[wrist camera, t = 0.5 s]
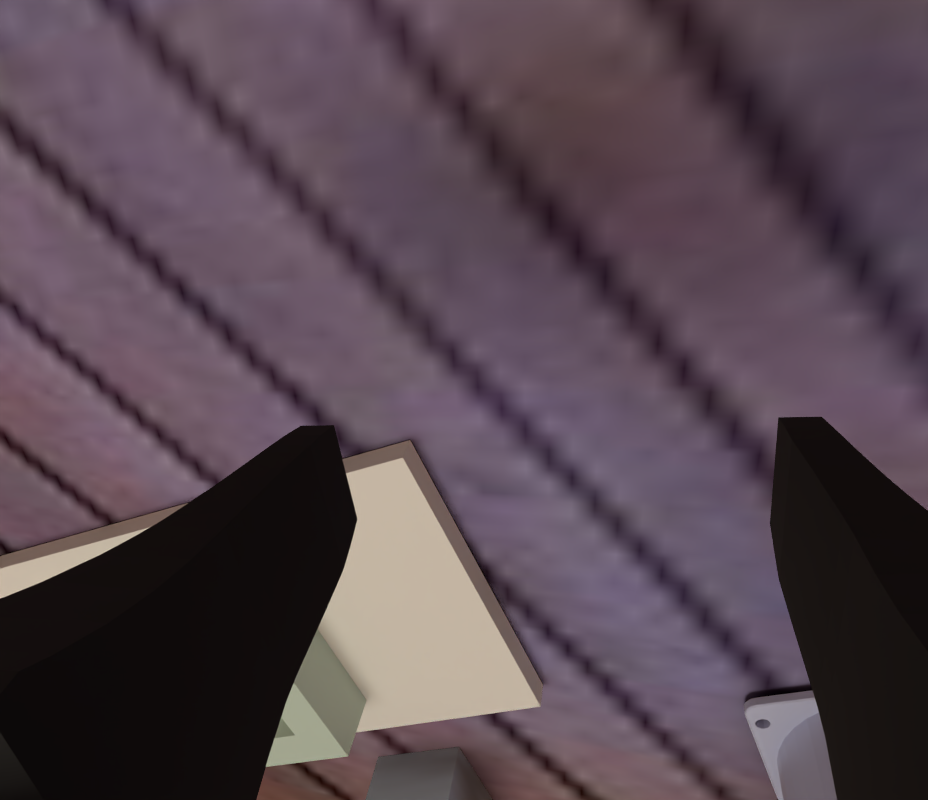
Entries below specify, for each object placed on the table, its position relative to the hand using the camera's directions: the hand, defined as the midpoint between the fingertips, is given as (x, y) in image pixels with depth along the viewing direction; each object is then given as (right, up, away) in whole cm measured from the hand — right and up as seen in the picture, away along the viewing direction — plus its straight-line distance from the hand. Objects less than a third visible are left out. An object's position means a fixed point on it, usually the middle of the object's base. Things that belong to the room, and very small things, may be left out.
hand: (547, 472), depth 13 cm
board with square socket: (-11, -8, +19) cm, 23 cm away
